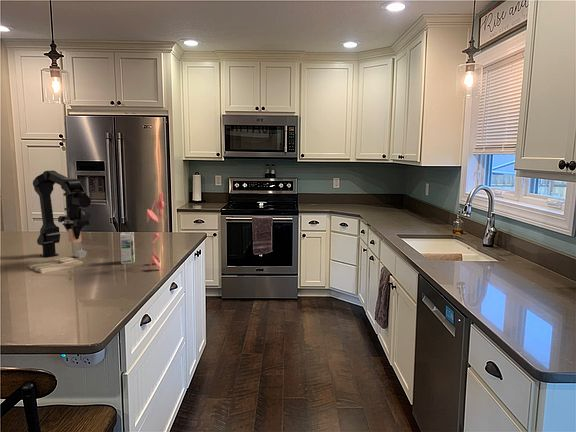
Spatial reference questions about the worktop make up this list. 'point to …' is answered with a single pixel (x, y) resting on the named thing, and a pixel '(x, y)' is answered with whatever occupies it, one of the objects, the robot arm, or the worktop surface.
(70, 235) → the tall peg
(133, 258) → the syrup box
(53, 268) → the hole board
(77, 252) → the short peg
